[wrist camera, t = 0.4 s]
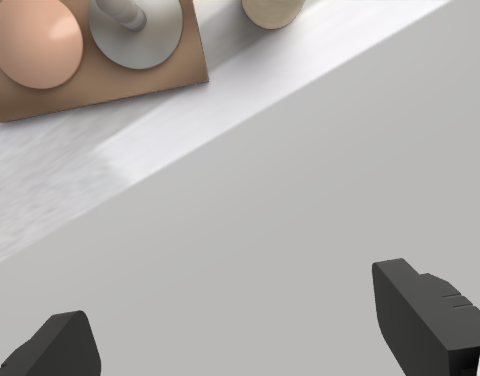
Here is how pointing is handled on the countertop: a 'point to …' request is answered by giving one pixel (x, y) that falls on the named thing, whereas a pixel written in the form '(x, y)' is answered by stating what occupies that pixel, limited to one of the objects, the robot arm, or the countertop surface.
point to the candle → (272, 12)
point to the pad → (40, 42)
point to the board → (118, 57)
